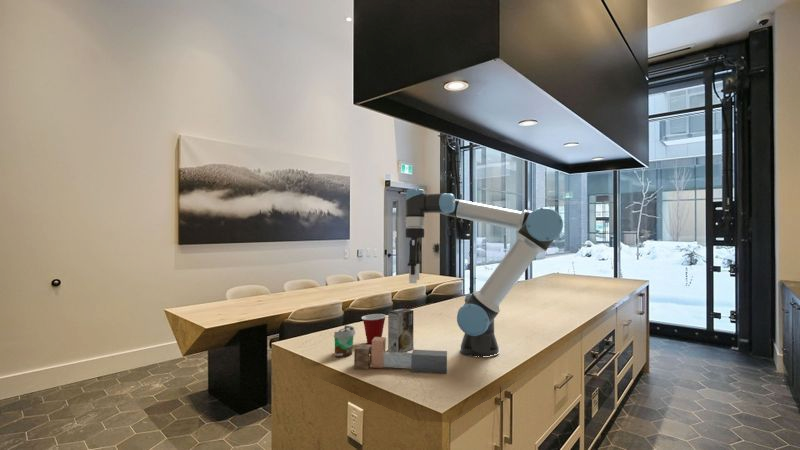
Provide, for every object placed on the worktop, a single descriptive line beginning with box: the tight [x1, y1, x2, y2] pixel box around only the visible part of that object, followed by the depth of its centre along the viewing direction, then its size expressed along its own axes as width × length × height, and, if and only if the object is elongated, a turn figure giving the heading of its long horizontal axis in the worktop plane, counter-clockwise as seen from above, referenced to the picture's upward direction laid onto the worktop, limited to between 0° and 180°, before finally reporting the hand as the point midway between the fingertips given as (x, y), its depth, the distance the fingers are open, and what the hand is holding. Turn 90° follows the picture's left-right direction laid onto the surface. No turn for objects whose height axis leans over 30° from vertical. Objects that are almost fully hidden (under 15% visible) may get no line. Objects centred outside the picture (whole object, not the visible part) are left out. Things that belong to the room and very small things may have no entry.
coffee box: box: [387, 308, 414, 353], centre depth 157 cm, size 9×6×16 cm
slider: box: [369, 336, 412, 369], centre depth 134 cm, size 22×5×9 cm, turn 83°
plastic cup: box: [361, 313, 387, 345], centre depth 166 cm, size 11×11×12 cm
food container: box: [333, 325, 356, 359], centre depth 149 cm, size 12×6×10 cm, turn 168°
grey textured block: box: [353, 343, 372, 371], centre depth 135 cm, size 5×6×7 cm
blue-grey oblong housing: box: [410, 349, 448, 375], centre depth 132 cm, size 12×6×6 cm, turn 83°
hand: (414, 281), depth 151 cm, fingers open, 13 cm apart
